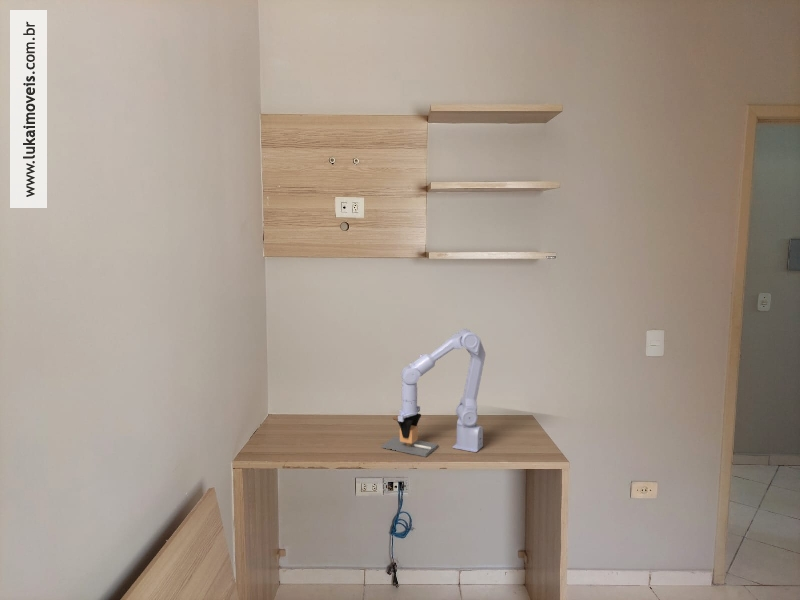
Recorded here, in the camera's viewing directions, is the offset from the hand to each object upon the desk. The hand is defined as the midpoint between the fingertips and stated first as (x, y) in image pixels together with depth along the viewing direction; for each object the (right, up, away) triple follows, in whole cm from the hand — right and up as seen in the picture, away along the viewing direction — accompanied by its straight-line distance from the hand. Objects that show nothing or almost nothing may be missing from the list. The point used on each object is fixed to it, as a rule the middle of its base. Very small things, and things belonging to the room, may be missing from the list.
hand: (409, 435), depth 191 cm
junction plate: (0, -5, +1) cm, 5 cm away
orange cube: (0, -2, 0) cm, 2 cm away
